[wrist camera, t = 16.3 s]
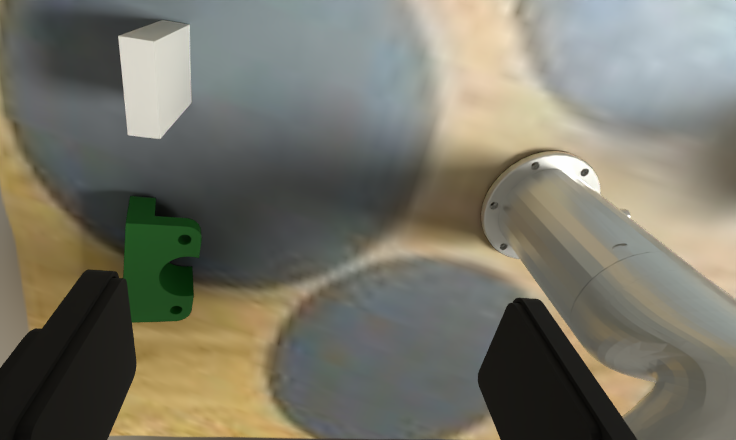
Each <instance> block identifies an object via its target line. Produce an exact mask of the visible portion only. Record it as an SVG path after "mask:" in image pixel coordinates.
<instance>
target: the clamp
mask: <svg viewBox="0 0 736 440" xmlns="http://www.w3.org/2000/svg"><path fill="white" fill-rule="evenodd" d="M155 204H156V198H149V197H137V196H130V200H129V206H128V212H127V219H126V229H125V251H124V274H123V278H124V279H126V281H127V287H128V295H129V304H130V312H131V320H132V323H133V322H163V321H179V320H183V319H185V318H186V317H188V316H189V315H190V313H191V310H192V304H193V297H194V291H193V271H192V266H187V267H182V266H176V265H173V264H171V263H169V262H170V261H172V260H174V259H177V258H180V257H197V258H199V254H200V247H201V240H202V238H201V228H200V226H199V224H198V223H197V222H196V221H194V220H192V219H189V218H176V217H161V216H155Z"/></svg>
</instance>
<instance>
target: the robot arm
mask: <svg viewBox="0 0 736 440" xmlns="http://www.w3.org/2000/svg"><path fill="white" fill-rule="evenodd" d="M532 163H533V164H532ZM481 224H482V227H483V231H484V233H485V235H486V237H487V239H488V240H489V242H490V243H491V244H492V246H493V247H494V248H495V249H496V250H497V251H499V252H500V253H502V254H504V255H506V256H508V257H512V258H515V259H520V260H521V261H522V263H523V264H524V265H525V267H526V268H527V269H528V271H529V272H530V274H531V275H532V276H533V278H534V279H535V281H536V282H537V283H538V285H539V286H540V288H541V289H542V290H543V292H544V293H545V294H546V296H547V297H548V299H549V300H550V301H551V303H552V304H553V306H554V307H555V308H556V310H557V311H558V313H559V314H560V315H561V317H562V318H563V319H564V321H565V322H566V324H567V325H568V326H569V328H570V329H571V331H572V332H573V333H574V335H575V336H576V337H577V339H578V340H579V342H580V343H581V344H582V346H583V347H584V348H585V349H586V350H587V352H588V353H589V354H590V355H591V356H593V357H594V358H595V359H596V360H597V361H599V362H600V363H602V364H603V365H605V366H606V367H608V368H610V369H612V370H615V371H617V372H619V373H622V374H625V375H628V376H631V377H635V378H639V379H643V380H647V381H651V382H656V384H655V387H654V388H653V389H652V391H651V392H649V393H648V394H647V395H646V396H645V397H644V398H643V399H642V400H640V401H639V402H638V403H637V405H636V406H635V407H633V408H632V409H631V410H630V411H628V412H627V413H626V414H625V415H623V416H621V415H620V413H619V412H618V411H617V409H616V408H615V406H614V405H613V403H612V402H611V400H610V399H609V398H608V396H607V395H606V393H605V392H604V390H603V389H602V388H601V386H600V385H599V383H598V382H597V380H596V379H595V377H594V376H593V375H592V373H591V372H590V370H589V369H588V367H587V366H586V364H585V363H584V362H583V360H582V359H581V357H580V356H579V354H578V353H577V352H576V350H575V349H574V347H573V346H572V344H571V343H570V341H569V340H568V339H567V337H566V336H565V334H564V333H563V331H562V330H561V328H560V327H559V326H558V324H557V323H556V321H555V320H554V318H553V317H552V315H551V314H550V313H549V311H548V310H547V308H546V307H545V305H544V304H543V303H542V302H541V301H540V300H538V299H529V298H516V299H515V300H514V301H513V303H509V304H508V306H507V307H506V310H505V312H504V314H503V317H502V319H501V321H500V324H499V326H498V328H497V331H496V333H495V335H494V338H493V340H492V342H491V345H490V347H489V349H488V352H487V354H486V356H485V358H484V361H483V363H482V365H481V368H480V370H479V373H478V384H479V387H480V390H481V392H482V395H483V397H484V400H485V402H486V405H487V407H488V409H489V412H490V414H491V417H492V419H493V422H494V424H495V427H496V429H497V432H498V434H499V437H500V439H501V440H736V298H734V297H733V296H731V295H730V294H729V293H727V292H726V291H724V290H723V289H722V288H720V287H719V286H717V285H716V284H715V283H713V282H712V281H711V280H709V279H708V278H707V277H705V276H704V275H703V274H701V273H700V272H699V271H697V270H696V269H695V268H694V267H692V266H691V265H690V264H688V263H687V262H686V261H685V260H683V259H682V258H681V257H679V256H678V255H677V254H676V253H674V252H673V251H672V250H671V249H669V248H668V247H667V246H665V245H664V244H663V243H662V242H660V241H659V240H658V239H657V238H655V237H654V236H653V235H651V234H650V233H649V232H648V231H646V230H645V229H644V228H642V227H641V226H640V225H639V224H637V223H636V222H635V221H634V220H632V219H631V218H630V212H629V211H628V210H626V209H618V208H617V207H616V206H614V205H613V204H612V203H611V202H609V201H608V200H607V199H605V198H604V197H603V196H602V195H601V188H600V182H599V179H598V176H597V174H596V173H595V171H594V170H593V168H592V167H591V166H590V165H588V164H587V163H586V162H585V161H583V160H582V159H580V158H579V157H577V156H575V155H572V154H570V153H567V152H560V151H548V152H541V153H537V154H533V155H531V156H528V157H526V158H524V159H521V160H520V161H518V162H516V163H515V164H513V165H512V166H510V167H509V168H508V169H507V170H505V171H504V172H503V173H502V174H501V175H500V176H499V177H498V178H497V179H496V181H495V182H494V183H493V184H492V186H491V188H490V189H489V191H488V193H487V195H486V197H485V200H484V202H483V206H482V212H481ZM135 371H136V354H135V346H134V337H133V329H132V320H131V312H130V304H129V295H128V287H127V281H126V279H124V278H119V276H118V274H117V272H115V271H101V270H86V271H85V272H84V273H83V274H82V275H81V277H80V278H79V279H78V281H77V282H76V283H75V285H74V286H73V287H72V289H71V290H70V291H69V293H68V294H67V296H66V297H65V298H64V300H63V301H62V302H61V304H60V305H59V306H58V308H57V309H56V310H55V312H54V313H53V315H52V316H51V317H50V319H49V320H48V321H47V323H46V324H45V325H44V327H43V328H42V329H33V330H31V331H30V332H29V333H28V334H27V335H26V336H25V337H24V338H23V339H22V340H21V342H20V343H19V344H18V346H17V347H16V348H15V350H14V351H13V352H12V353H11V355H10V356H9V358H8V359H7V360H6V361H5V363H4V364H3V365H2V367H1V368H0V440H107V439H108V437H109V434H110V432H111V430H112V427H113V425H114V423H115V420H116V418H117V416H118V413H119V411H120V409H121V406H122V404H123V402H124V399H125V397H126V395H127V392H128V390H129V388H130V385H131V383H132V381H133V378H134V375H135Z"/></svg>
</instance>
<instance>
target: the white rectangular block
mask: <svg viewBox="0 0 736 440" xmlns="http://www.w3.org/2000/svg"><path fill="white" fill-rule="evenodd" d="M118 38H119V48H120V59H121V69H122V79H123V89H124V100H125V110H126V120H127V131H128V135H131V136H139V137H147V138H156V139H161V137H162V136H163V135H164V134H165V133H166V132H167V131H168V129H169V128H170V127H171V126H172V125H173V124H174V122H175V121H176V120H177V119H178V118H179V117H180V116H181V114H182V113H183V112H184V111H185V110H186V109H187V107H188V106H189V105H190V104H191V63H190V25H189V24H183V23H178V22H172V21H166V20H161V21H158V22H155V23H153V24H150V25H147V26H144V27H141V28H139V29H136V30H133V31H130V32H128V33H125V34H122V35H119V36H118Z"/></svg>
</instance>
